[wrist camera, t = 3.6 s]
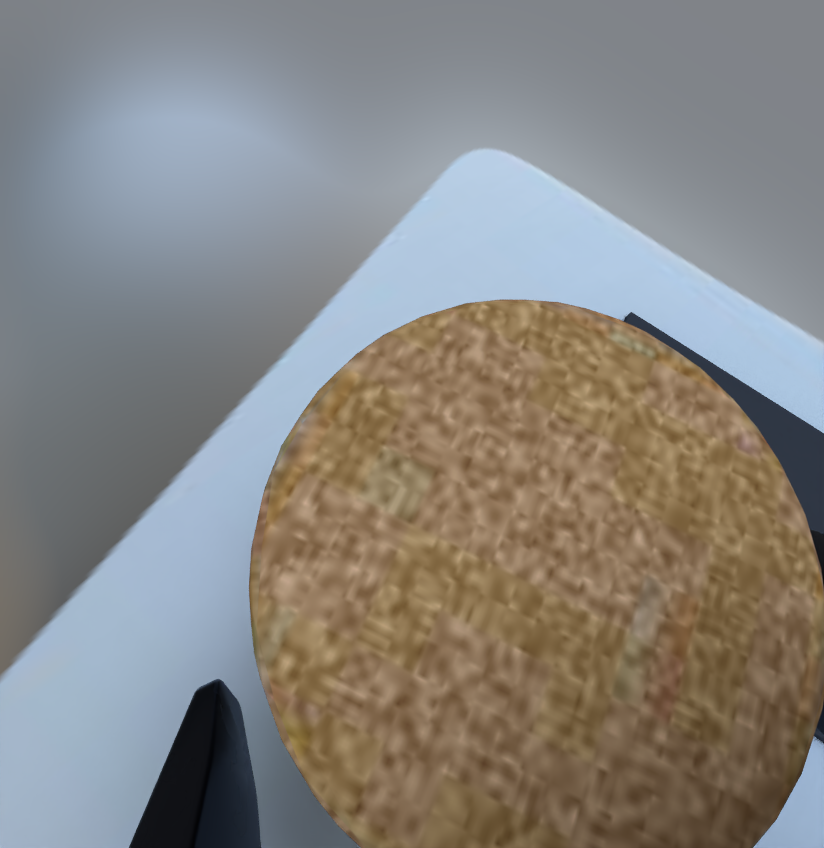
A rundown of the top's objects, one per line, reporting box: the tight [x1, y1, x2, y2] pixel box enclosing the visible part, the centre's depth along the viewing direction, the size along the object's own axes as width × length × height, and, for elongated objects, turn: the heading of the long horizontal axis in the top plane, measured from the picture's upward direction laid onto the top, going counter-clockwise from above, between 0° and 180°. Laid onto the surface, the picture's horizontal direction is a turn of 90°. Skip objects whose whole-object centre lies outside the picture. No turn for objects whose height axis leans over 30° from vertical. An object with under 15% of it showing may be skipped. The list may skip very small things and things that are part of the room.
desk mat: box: [624, 312, 824, 742], centre depth 20 cm, size 20×12×1 cm, turn 56°
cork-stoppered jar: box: [249, 300, 824, 848], centre depth 11 cm, size 6×6×15 cm
